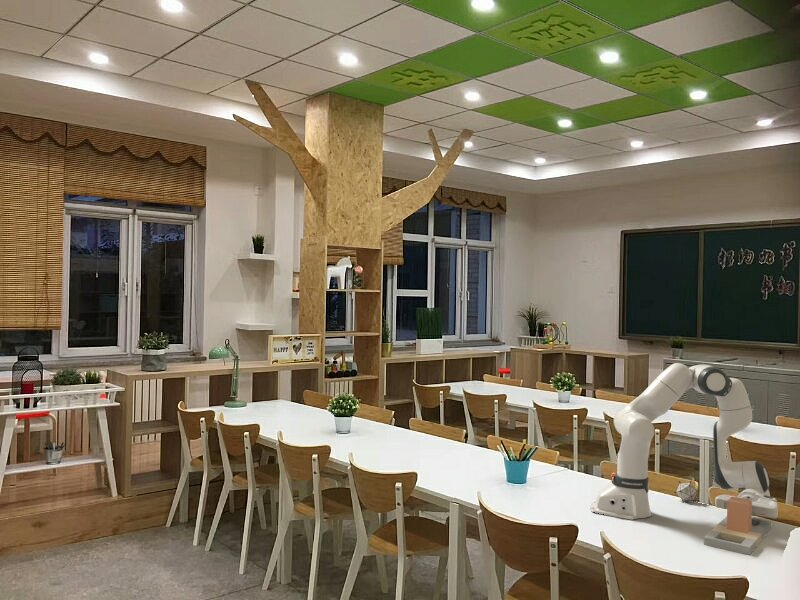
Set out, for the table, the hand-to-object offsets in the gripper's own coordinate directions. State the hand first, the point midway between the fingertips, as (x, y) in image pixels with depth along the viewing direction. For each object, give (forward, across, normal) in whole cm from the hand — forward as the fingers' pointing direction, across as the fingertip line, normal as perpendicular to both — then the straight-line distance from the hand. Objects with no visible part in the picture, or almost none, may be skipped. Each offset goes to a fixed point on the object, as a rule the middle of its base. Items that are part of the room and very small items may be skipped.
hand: (741, 511), depth 238 cm
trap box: (+4, 0, +8) cm, 9 cm away
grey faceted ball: (-28, -26, +8) cm, 39 cm away
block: (+3, 0, +5) cm, 6 cm away
